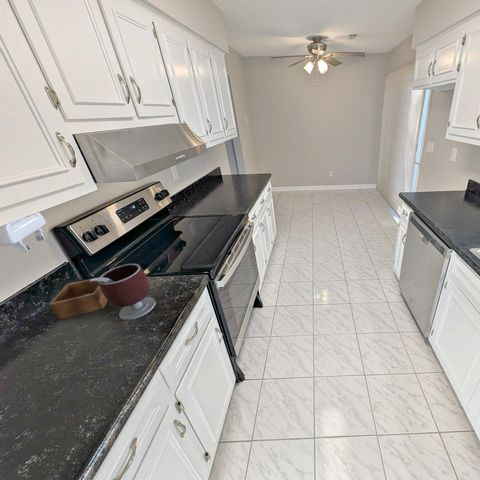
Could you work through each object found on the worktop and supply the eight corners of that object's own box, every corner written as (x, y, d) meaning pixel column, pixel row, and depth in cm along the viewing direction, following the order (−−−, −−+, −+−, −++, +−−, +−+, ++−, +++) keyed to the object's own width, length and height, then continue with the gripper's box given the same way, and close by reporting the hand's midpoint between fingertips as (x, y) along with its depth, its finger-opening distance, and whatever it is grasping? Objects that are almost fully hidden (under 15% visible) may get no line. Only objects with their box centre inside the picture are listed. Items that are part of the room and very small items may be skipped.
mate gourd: (144, 293, 109) (125, 254, 100) (165, 302, 103) (146, 260, 94) (105, 318, 97) (78, 275, 87) (125, 329, 91) (100, 284, 82)
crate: (59, 319, 98) (48, 304, 94) (75, 298, 109) (66, 284, 106) (103, 308, 102) (94, 294, 98) (114, 289, 113) (107, 275, 110)
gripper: (19, 203, 97) (39, 235, 103) (-24, 222, 80) (4, 259, 86) (39, 200, 99) (58, 232, 105) (2, 218, 81) (27, 255, 88)
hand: (33, 245), depth 95 cm, fingers open, 8 cm apart
